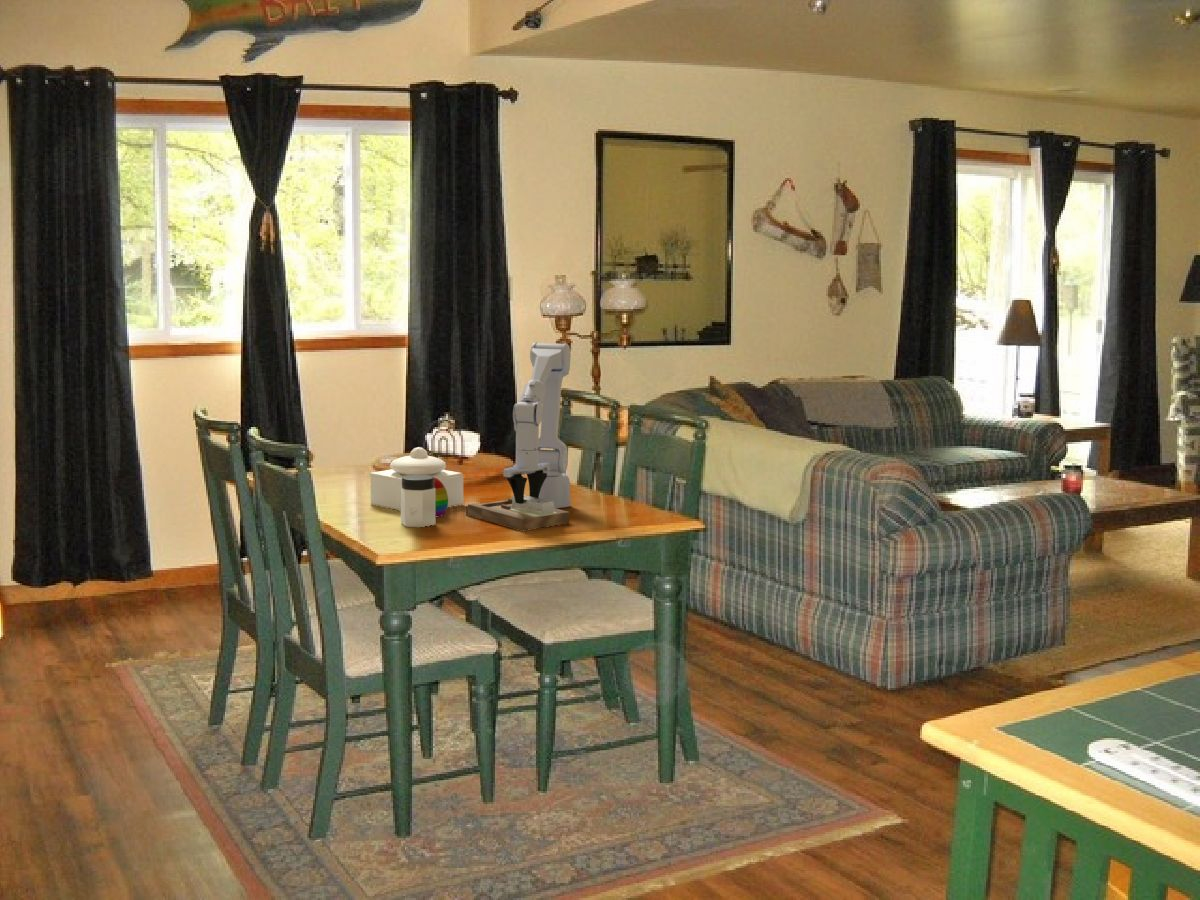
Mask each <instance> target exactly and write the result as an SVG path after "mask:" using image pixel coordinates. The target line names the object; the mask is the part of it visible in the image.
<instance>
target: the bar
mask: <svg viewBox="0 0 1200 900" xmlns="http://www.w3.org/2000/svg"><path fill="white" fill-rule="evenodd" d="M511 498H512V508H513V509H517V510H522V511H526V512H531V513H536V514H540V515H545V514H550V513H554V501H551V500H546V499H541V498H536V497H532V496H530V495H526V494H524V500H523V504H519V503H516V502H515V498H514V496H512V497H511Z"/></svg>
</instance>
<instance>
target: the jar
mask: <svg viewBox="0 0 1200 900" xmlns="http://www.w3.org/2000/svg"><path fill="white" fill-rule="evenodd" d="M436 518H437V517H436V489H435V488H434V477H433V476H431V475H422V474H415V475H406V476H403V477H402V487H401V511H400V524H402V525H403V526H404V527H405V526H406V527H405V528H420V527H423V528H426V527H425V526H427V527H430V525H432V526H435V525H436V521H437V520H436ZM434 524H435V525H434Z"/></svg>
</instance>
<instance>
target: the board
mask: <svg viewBox="0 0 1200 900" xmlns="http://www.w3.org/2000/svg"><path fill="white" fill-rule="evenodd" d="M510 509H513V508H512V497H511V498H507V499H506V500H499V501H498V500H497V501H492V502H484V503H478V504H477V503H468V504H467V505H465V516H467V515H469V516H468V517H471V516H472V517H471V518H474V517H476V518H475V519H478V518H480V519H479V520H481V519H483V520H482V521H485V520H487V521H486V522H488V521H491V522H490V523H492V522H494V523H493V524H495V523H498V524H497V525H499V524H501V525H500V526H502V525H505V526H504V527H506V526H508V527H507V528H509V527H511V528H510V529H513V528H515V529H514V530H516V529H519V530H518V531H520V530H522V531H521V532H524V531H523V530H527V531H529V530H528V529H533V530H536V529H535V528H539V529H541V528H540V527H545V528H548V527H547V526H552V527H554V526H553V525H558V526H561V525H560V524H564V525H567V524H566V523H569V524H570V511H568V510H567V511H566V510H564V509H563V510H562V509H560V508H556V509H555V508H554V512H556V513H557V514H554V515H547V516H541V517H532V516H528V515H525V514H521V513H517V512H514V511H510Z"/></svg>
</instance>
